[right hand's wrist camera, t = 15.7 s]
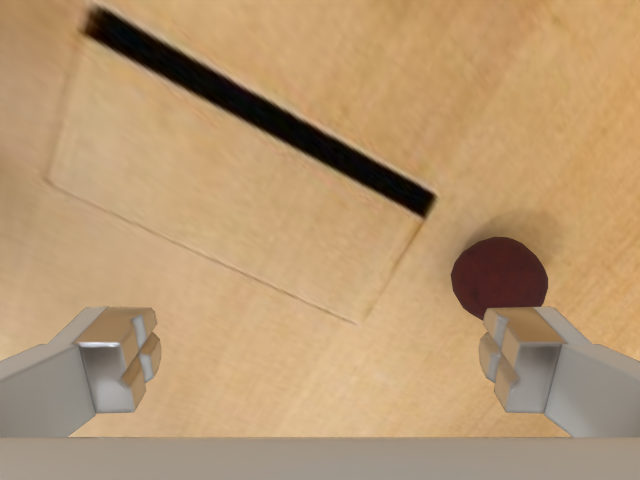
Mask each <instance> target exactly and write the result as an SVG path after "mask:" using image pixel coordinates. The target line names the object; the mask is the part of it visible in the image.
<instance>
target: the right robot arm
mask: <svg viewBox="0 0 640 480" xmlns="http://www.w3.org/2000/svg"><path fill="white" fill-rule="evenodd" d="M156 325H157V320H156V315H155V311H154V310H153V309H152V308H144V307H87V308H85V309H84V310H83V311H82V312H81V313H80V314H79V315H77V316H76V317H75V318H74V319H73V320H72V321H71V322H70V323H69V324H68V325H67V326H66V327H65V328H64V329H63V330H62V331H61V332H60V333H59V334H57V335H56V336H55V337H54V338H53V339H52V340H51V341H50V342H49V343H48V344H40V345H37V346H35V347H33V348H30V349H28V350H26V351H23V352H21V353H19V354H16V355H14V356H12V357H9V358H7V359H5V360H2V361H0V480H640V361H638V360H635V359H633V358H631V357H628V356H626V355H624V354H621V353H619V352H617V351H614V350H612V349H610V348H607V347H605V346H603V345H600V344H592V343H591V342H590V341H589V340H588V339H587V338H586V337H585V336H584V335H583V334H582V333H580V332H579V331H578V330H577V329H576V328H575V327H574V326H573V325H572V324H571V323H570V322H569V321H568V320H567V319H566V318H565V317H564V316H563V315H562V314H561V313H559V312H558V311H557V310H556V309H555V308H553V307H550V306H546V307H511V308H487V310H486V312H485V314H484V320H483V325H484V326H485V328H486V329H487V331H488V332H487V333H486V334H485V335H484V336H483V337H482V338H481V339H480V345H479V360H480V365H481V368H482V371H483V373H484V374H485V376H486V378H487V379H489V380H490V381H492V382H494V383H495V387H494V392H495V394H496V396H497V398H498V399H499V401H500V403H501V405H502V406H503V408H504V410H505V412H511V413H545V414H544V415H545V416H546V417H547V418H549V419H550V420H551V421H553V422H554V423H555V424H556V425H558V426H559V427H560V428H562V429H563V430H564V431H566V432H567V433H568V434H569V435H571V436H572V437H68V436H69V435H71V434H72V433H73V432H75V431H76V430H77V429H79V428H80V427H81V426H82V425H84V424H85V423H86V422H88V421H89V420H90V419H92V418H93V417H94V416H95V415H96V414H95V413H128V412H135V410H136V408H137V406H138V405H139V403H140V401H141V399H142V398H143V396H144V394H145V392H146V387H145V383H146V382H148V381H149V380H151V379H153V378H154V376H155V374H156V373H157V371H158V368H159V364H160V360H161V344H160V339H159V338H158V337H157V336H156V335H155V334H154V333H153V332H152V331H153V329H154V328H155V326H156Z"/></svg>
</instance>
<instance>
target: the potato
mask: <svg viewBox="0 0 640 480" xmlns="http://www.w3.org/2000/svg"><path fill="white" fill-rule="evenodd" d="M451 279H452V286H453V291H454V293H455V295H456V297H457V298H458V300H459V302H460V303H461V305H462V307H463V308H464V309H465V310H467V311H468V312H469V313H471V314H472V315H474V316H476V317H478V318H479V319H481V320H484V314H485V312H486V310H487V308H511V307H541V306H542V304H543V303H544V299H545V296H546V293H547V289H548V277H547V274H546V271H545V269H544V267H543V265H542V264H541V262H540V261H539V259H538V258H537V257H536V255H534V254H533V253H532V252H531V251H530V250H529V249H528V248H527V247H526V246H524V245H523V244H522V243H520V242H518V241H516V240H513V239H510V238H507V237H493V238H490V239H486V240H483V241H480V242H478V243H476V244H475V245H473V246H472V247H470V248H469V249H467V250H465V251H464V252H463V253H462V254H461V255H460V257H459V258H458V259H457V260H456V262H455V264H454V267H453V270H452V273H451Z"/></svg>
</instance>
